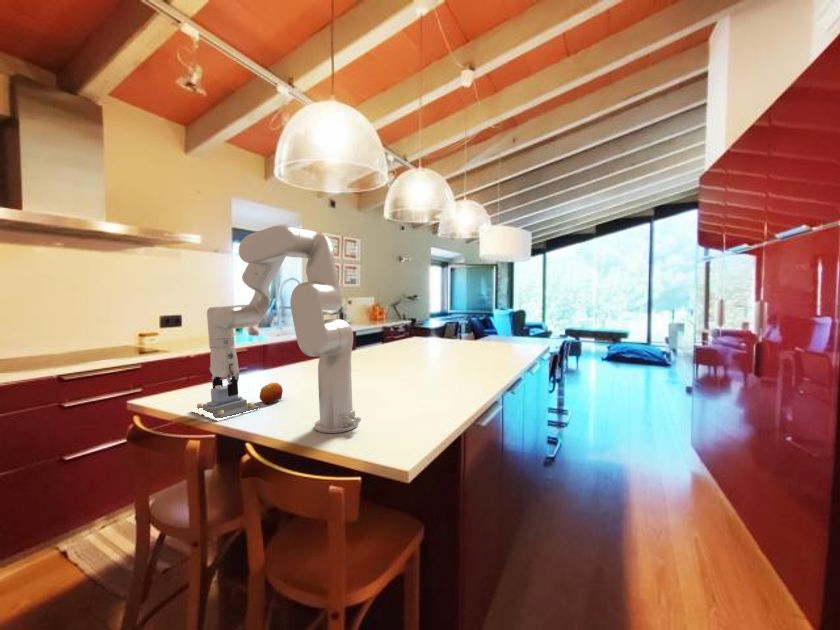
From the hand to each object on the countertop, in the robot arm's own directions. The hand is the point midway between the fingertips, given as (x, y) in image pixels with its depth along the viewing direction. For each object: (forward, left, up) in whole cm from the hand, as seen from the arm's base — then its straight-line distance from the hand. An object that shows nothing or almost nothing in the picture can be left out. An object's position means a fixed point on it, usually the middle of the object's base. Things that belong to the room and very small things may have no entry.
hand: (225, 393), depth 132 cm
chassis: (+1, 0, -6) cm, 6 cm away
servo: (0, 0, -5) cm, 5 cm away
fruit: (-3, -15, -6) cm, 17 cm away
